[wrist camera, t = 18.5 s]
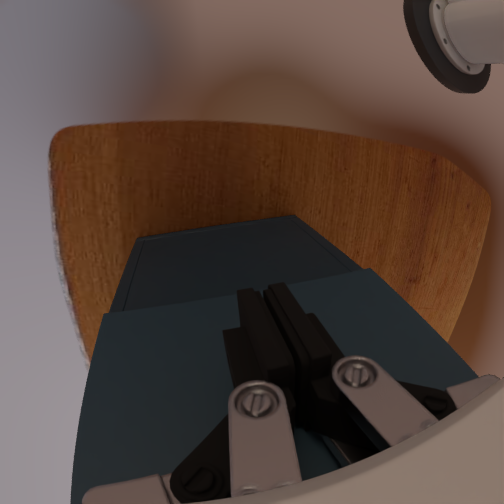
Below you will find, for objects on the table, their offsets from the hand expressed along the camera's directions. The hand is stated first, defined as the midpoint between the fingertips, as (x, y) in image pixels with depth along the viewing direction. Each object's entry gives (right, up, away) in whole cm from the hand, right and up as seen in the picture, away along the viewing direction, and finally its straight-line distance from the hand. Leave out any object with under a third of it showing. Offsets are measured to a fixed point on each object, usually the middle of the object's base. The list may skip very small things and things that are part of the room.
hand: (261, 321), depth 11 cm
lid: (+1, -3, -1) cm, 3 cm away
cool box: (-3, -1, +19) cm, 19 cm away
